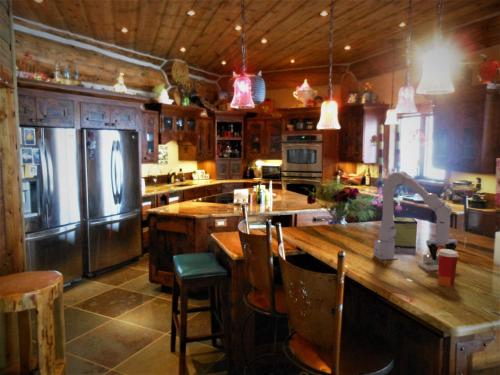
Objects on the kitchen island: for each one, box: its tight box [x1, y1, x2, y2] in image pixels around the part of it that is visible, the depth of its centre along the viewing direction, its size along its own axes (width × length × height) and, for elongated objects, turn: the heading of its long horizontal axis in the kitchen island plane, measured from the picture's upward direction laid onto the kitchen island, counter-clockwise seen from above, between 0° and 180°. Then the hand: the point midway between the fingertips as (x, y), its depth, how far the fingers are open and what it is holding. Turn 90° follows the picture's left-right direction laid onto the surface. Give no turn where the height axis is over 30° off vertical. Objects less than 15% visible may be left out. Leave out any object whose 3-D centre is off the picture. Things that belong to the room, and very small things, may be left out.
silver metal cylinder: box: [422, 253, 434, 266], centre depth 179 cm, size 4×4×5 cm
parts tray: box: [417, 260, 438, 271], centre depth 179 cm, size 12×7×2 cm, turn 99°
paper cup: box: [437, 248, 460, 288], centre depth 157 cm, size 8×8×14 cm
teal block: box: [433, 253, 438, 265], centre depth 180 cm, size 4×4×5 cm
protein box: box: [393, 217, 418, 250], centre depth 217 cm, size 10×16×16 cm
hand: (440, 259), depth 179 cm, fingers open, 7 cm apart
